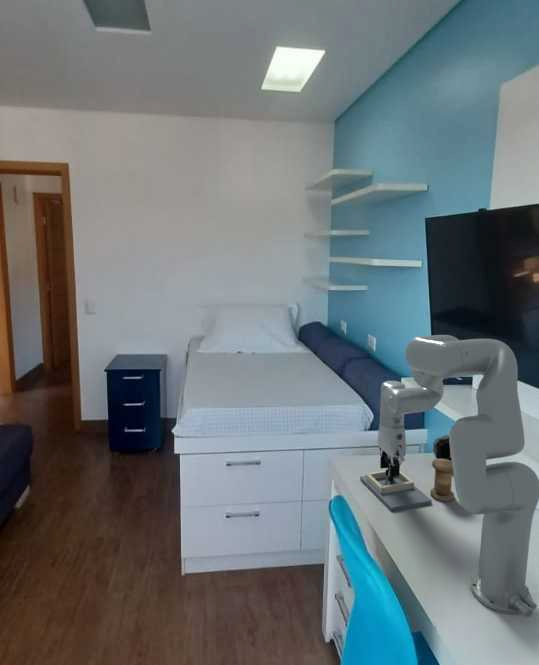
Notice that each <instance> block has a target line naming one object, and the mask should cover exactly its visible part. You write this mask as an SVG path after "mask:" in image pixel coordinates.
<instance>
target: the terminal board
mask: <svg viewBox="0 0 539 665" xmlns="http://www.w3.org/2000/svg"><path fill="white" fill-rule="evenodd" d="M386 470H387V469H385V470H380V471H373V472H368V473H365V475H362V476H360V477H359V481H361V483H363V485H364V486H365V487H366V488H368V490H369V491H370V492H372V494H373V495H374V496H375V497H376V498H377V499H378V500H379V501H380V502H381V503H382V504H383V505H384V506H385V507H386V508H387V509H388V510H389V511H390V512H395V511H400V510H405V509H411V508H418V507H423V506H427V505H432V499H431V498H430V497H428V496H427V495H426V494H425V493H423V492H422V490H420V489H419V488H418V487H417V486H415V482H414V481H413V480H412V479H410V477H408V476H407V475H406V474H405V473H404V472H402V471H401V470H400V471H399V476H395V477H394V479H393V482H394V483H391V485H387V484H386V478H387V477H385V475H386V474H385V473H386ZM384 480H385V481H384Z"/></svg>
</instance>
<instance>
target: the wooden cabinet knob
mask: <svg viewBox="0 0 539 665" xmlns="http://www.w3.org/2000/svg"><path fill="white" fill-rule="evenodd" d="M431 463H432V464H431V466H432V468H434V470H435V471H434V483H433V484H434V485H433V488H431V489H430V497H431V498H432V499H434V500H436V501H439V502H444V503H450V502H452V501H454V498H455V493H454V492H453V490H452V482H453V481H452V479H453V478H452V477H453V467H452V461H450V460H447V459H436V458H435V459H433V460H432V462H431Z"/></svg>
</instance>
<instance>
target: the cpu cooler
mask: <svg viewBox="0 0 539 665" xmlns="http://www.w3.org/2000/svg"><path fill="white" fill-rule="evenodd" d="M449 436H450V435H447V434H445V435H443V436H441V437H439V438H438V437H437V438H436V439H435V440H434V441H433V443H432V445H433V447H432V448H433V449H432V451H433V455H434V456H435V457H434V458H435V459H447V460H450V461H452V459H451V452H450V443H449Z"/></svg>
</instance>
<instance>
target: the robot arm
mask: <svg viewBox="0 0 539 665" xmlns="http://www.w3.org/2000/svg"><path fill="white" fill-rule="evenodd" d="M404 353H405V360H406V363H407V365H408V366H410V368H411V371H410V372H411V377H412V378H413V381H414V382H415V383H416V384H417V385H418V387H406V386H405V384H404V383H403V382H401V381H397V380H386V381H384V382H382V384H381V387H380V407H379V410H380V411H379V426H378V435H377V436H378V437H377V445H378V450H379V451H380V452H379V456H380V460H379V461H380V462H379V463H380V464H379V465H380V466H379V468H380V469H386V468H387V469H388V465H389V464H388V463H387V462H385V458H384V455H385V454H386V453H387V454H388V455H389V456H391V464H392V465H390V477H395V476H399V471H401V469H400V468H401V465H402V464H403V463H404V462H405V456H406V454H407V453H406V452H407V451H406V450H407V449H406V448H407V445H406V444H407V443H406V442H407V441H406V438H407V437H406V430H405V426H404V425H405V415H407V414H413V413H424V412H428V411H430V410H432V409H434V408H435V407H436V406H437V405H438V404H439V402H441V400H442V399H443V396H444V390H445V389H444V382H443V381H444V379H446V378H447V379H451V378H452V379H453V378H460V377H469V376H470V377H471V376H478V375H479V376H483V377H482V378H481V380H480V382H479V383H478V386H477V390H476V392H475V397H476V398H475V399H476V404H477V405H476V406H477V415H476V414H475V415H469V416H463V417H460V418H458V419H456V420H455V421H454V422H453V424H452V426H451V428H450V431H449V435H448V436H449V443H450V452H451V459H452V467H453V471H452V475H453V479H454V487H455V492H456V496H457V499H458V501H459V503H460V504H461V506H462V508H464V510H465V511H467V512H468V513H470V514H473V515H478V516H479V515H480V516H481V515H483V517H482V523H481V524H482V525H481V536H480V549H479V552H480V553H479V558H478V559H479V561H478V571H477V572H476V573H474V574H473V575H472V576H471V578H470V582H469V588H470V591H471V592H472V594H473V595H474V597H475V598H476V599H477V600H478V601H479V602H480V603H482V604H483V605H484V606H485V607H488V608H490V609H492V610H494V611H496V612H499V613H503V614H509V615H511V614H512V615H513V614H514V615H516V614H517V615H518V614H522V615H523V616H524V617H525V618H527V619H528V618H530V617H532V616H533V610H536V608H537V604H536V603H535V602H534V601H533V600H532V599H533V598H532V597H533V596H532V594H531V592H530V589H529V587H528V586H527V585H526V577H527V568H528V559H529V549H530V548H529V547H530V539H531V532H532V531H531V530H532V525H533V519H534V515H535V511H536V509H537V506H538V503H539V477H538V475H537V474H536V472H535V471H534V470H533V469H532V468H531V467H530V466H528V465H527V464H524V463H521V462H517V461H504V462H497V463H491V464H488V465H487V460H492V459H500V458H506V457H511V456H515V455H518V454H520V453H521V452H522V451H523V450H524V449H525V442H526V441H525V439H526V438H525V433H524V432H525V431H524V430H525V429H524V425H523V417H522V411H521V404H520V399H519V393H518V392H519V391H518V379H519V378H518V375H519V374H518V373H519V372H518V371H519V370H518V362H517V358H516V356H515V355H516V354H514V351H513V349H511V348H510V346H508V344H506V343H505V342H503V341H501V340H498V339H493V338H470V339H458V337H456V336H454V335H450V334H435V335H422V336H421V335H420V336H415V337H413V338H412V339H411V340H410V341H409V342H408V343H407V345H406V347H405V352H404ZM395 454H397V455H395ZM394 458H397V460H396V461H394Z"/></svg>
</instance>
